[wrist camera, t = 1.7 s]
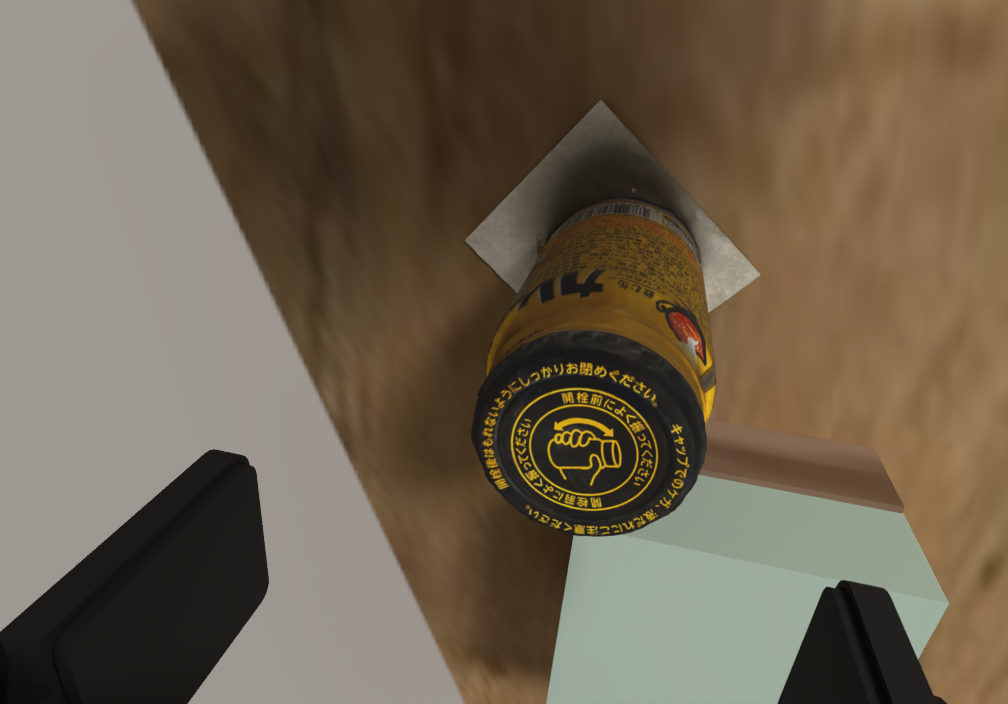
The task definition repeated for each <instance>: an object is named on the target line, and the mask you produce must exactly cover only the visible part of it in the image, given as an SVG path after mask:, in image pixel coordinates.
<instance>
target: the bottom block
mask: <svg viewBox="0 0 1008 704" xmlns="http://www.w3.org/2000/svg"><path fill="white" fill-rule="evenodd" d="M705 428H706V435H707V451H706V454H705V461H704V464H703V466H702V468H701V470H700V473H699V475H703V476H708V477H713V478H719V479H724V480H729V481H734V482H739V483H745V484H750V485H755V486H760V487H766V488H771V489H776V490H781V491H787V492H792V493H797V494H802V495H808V496H813V497H818V498H823V499H828V500H834V501H839V502H844V503H849V504H854V505H860V506H865V507H870V508H875V509H880V510H886V511H891V512H896V513H901V514H902V512H903V509H904V505H903V503H902V501H901V499H900V498H899V496H898V494H897V492H896V490H895V488H894V486H893V484H892V482H891V480H890V478H889V476H888V474H887V472H886V470H885V468H884V466H883V464H882V462H881V461H880V459H879V457H878V455H877V453H876V451H875V449H874V448H873V447H867V446H861V445H855V444H850V443H844V442H838V441H832V440H827V439H821V438H815V437H809V436H804V435H798V434H792V433H786V432H781V431H775V430H769V429H763V428H758V427H752V426H746V425H740V424H735V423H729V422H723V421H717V420H712V419H708V421H707V423H706V426H705Z"/></svg>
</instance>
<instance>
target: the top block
mask: <svg viewBox="0 0 1008 704" xmlns="http://www.w3.org/2000/svg"><path fill="white" fill-rule="evenodd" d="M841 580H847V581H852V582H857V583H862V584H867V585H871V586H876V587H881V588H884V589H885V590H887V591H888V593H889V595H890V596H891V598H892V601H893V603H894V605H895V608H896V610H897V612H898V615H899V617H900V619H901V621H902V624H903V626H904V628H905V631H906V633H907V635H908V638H909V640H910V642H911V645H912V647H913V649H914V652H915V654H916V656H917V659H919V657H920V655H921V653H922V651H923V650H924V648H925V646H926V644H927V642H928V641H929V639H930V637H931V635H932V633H933V632H934V630H935V628H936V626H937V624H938V623H939V621H940V619H941V617H942V615H943V614H944V612H945V610H946V608H947V607H948V605H949V603H948V601H947V599H946V597H945V595H944V593H943V591H942V589H941V587H940V585H939V583H938V581H937V579H936V577H935V575H934V573H933V571H932V569H931V567H930V565H929V563H928V561H927V559H926V557H925V555H924V553H923V551H922V549H921V547H920V545H919V544H918V542H917V540H916V538H915V536H914V534H913V532H912V530H911V528H910V526H909V524H908V522H907V520H906V518H905V516H904V514H901V513H896V512H891V511H886V510H880V509H875V508H870V507H865V506H860V505H854V504H849V503H844V502H839V501H834V500H828V499H823V498H818V497H813V496H808V495H802V494H797V493H792V492H787V491H781V490H776V489H771V488H766V487H760V486H755V485H750V484H745V483H739V482H734V481H729V480H724V479H719V478H713V477H708V476H703V475H698V478H697V481H696V483H695V485H694V487H693V488H692V489H691V491H690V492H689V493H688V494H687V495H686V497H685V499H684V500H683V502H682V504H680V505H679V506H678V507H677V508H676V510H675V511H673V512H671V513H670V514H669V515H667V516H665V517H663V518H661V519H659V520H657V521H655V522H653V523H651V524H649V525H647V526H646V527H644V528H642V529H639V530H636V531H634V532H631V533H627V534H622V535H615V536H603V537H593V536H575V535H574V536H573V542H572V548H571V554H570V560H569V566H568V573H567V579H566V585H565V591H564V597H563V603H562V610H561V616H560V622H559V628H558V634H557V641H556V647H555V653H554V659H553V665H552V671H551V678H550V684H549V690H548V696H547V702H546V704H778V700H779V698H780V695H781V693H782V691H783V688H784V686H785V683H786V681H787V678H788V676H789V673H790V671H791V668H792V666H793V663H794V661H795V658H796V656H797V653H798V651H799V648H800V646H801V643H802V641H803V639H804V636H805V634H806V631H807V629H808V626H809V624H810V621H811V619H812V616H813V614H814V611H815V609H816V606H817V604H818V601H819V599H820V596H821V594H822V592H823V590H824V589H825V588H826V587H832V588H835V587H836V586H837V584H838V583H839V582H840V581H841Z"/></svg>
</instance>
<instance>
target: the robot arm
mask: <svg viewBox="0 0 1008 704" xmlns="http://www.w3.org/2000/svg"><path fill="white" fill-rule="evenodd" d="M268 584H269V577H268V568H267V560H266V552H265V542H264V534H263V525H262V517H261V509H260V500H259V491H258V483H257V474H256V470H255V468H254V467H253V466H250V465H249V461H248V459H247V458H246V457H245V456H243V455H239V454H234V453H230V452H224V451H220V450H215V449H214V450H209V451H208V452H206V453H205V454H204V455H202V456H201V457H200V458H199V459H198V460H197V461H196V462H195V463H193V464H192V465H191V466H190V467H189V468H188V469H186V470H185V471H184V472H183V473H182V474H181V475H179V476H178V477H177V478H176V479H175V480H174V481H173V482H171V483H170V484H169V485H168V486H167V487H166V488H165V489H163V490H162V491H161V492H160V493H159V494H158V495H157V496H155V497H154V498H153V499H152V500H151V501H150V502H149V503H147V504H146V505H145V506H144V507H143V508H142V509H141V510H140V511H138V512H137V513H136V514H135V515H134V516H132V517H131V518H130V519H129V520H128V521H127V522H126V523H124V524H123V525H122V526H121V527H120V528H119V529H118V530H116V531H115V532H114V533H113V534H112V535H111V536H110V537H108V538H107V539H106V540H105V541H104V542H103V543H102V544H101V545H99V546H98V547H97V548H96V549H95V550H94V551H92V552H91V553H90V554H89V555H88V556H87V557H86V558H85V559H83V560H82V561H81V562H80V563H79V564H77V565H76V566H75V567H74V568H73V569H72V570H71V571H70V572H68V573H67V574H66V575H65V576H64V577H63V578H61V579H60V580H59V581H58V582H57V583H56V584H54V585H53V586H52V587H51V588H50V589H49V590H48V591H47V592H46V593H44V594H43V595H42V596H41V597H40V598H38V599H37V600H36V601H35V602H34V603H33V604H32V605H30V606H29V607H28V608H27V609H26V610H25V611H24V612H22V613H21V614H20V615H19V616H18V617H17V618H16V619H14V620H13V621H12V622H11V623H10V624H9V625H8V626H6V627H5V628H4V629H3V630H2V631H1V632H0V704H188V702H189V701H190V700H191V698H192V697H193V695H194V694H195V693H196V691H197V690H198V689H199V687H200V686H201V684H202V683H203V682H204V680H205V679H206V678H207V676H208V675H209V673H210V672H211V671H212V669H213V668H214V667H215V665H216V664H217V662H218V661H219V660H220V658H221V657H222V656H223V654H224V653H225V652H226V650H227V649H228V647H229V646H230V645H231V643H232V642H233V640H234V639H235V638H236V636H237V635H238V634H239V632H240V631H241V630H242V628H243V627H244V625H245V624H246V622H247V621H248V620H249V619H250V617H251V616H252V614H253V613H254V612H255V610H256V609H257V608H258V606H259V605H260V604H261V602H262V600H263V599H264V597H265V595H266V592H267V588H268ZM778 704H947V703H946V702H945V701H944V700H943V699H942V698H940V697H937V696H934V695H933V693H932V691H931V689H930V686H929V684H928V682H927V679H926V677H925V675H924V672H923V670H922V668H921V665H920V663H919V661H918V659H917V656H916V654H915V652H914V649H913V647H912V645H911V642H910V640H909V638H908V635H907V633H906V631H905V628H904V626H903V624H902V621H901V619H900V617H899V615H898V612H897V610H896V608H895V605H894V603H893V601H892V598H891V596H890V595H889V593H888V591H887V590H885V589H884V588H881V587H876V586H871V585H867V584H862V583H857V582H852V581H847V580H841V581H840V582H839V583H838V584H837V586H836V587H835V588H832V587H826V588H825V589H824V590H823V592H822V594H821V596H820V599H819V601H818V604H817V606H816V609H815V611H814V614H813V616H812V619H811V621H810V624H809V626H808V629H807V631H806V634H805V636H804V639H803V641H802V643H801V646H800V648H799V651H798V653H797V656H796V658H795V661H794V663H793V666H792V668H791V671H790V673H789V676H788V678H787V681H786V683H785V686H784V688H783V691H782V693H781V695H780V698H779V700H778Z"/></svg>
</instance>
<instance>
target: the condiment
mask: <svg viewBox="0 0 1008 704" xmlns="http://www.w3.org/2000/svg"><path fill="white" fill-rule="evenodd" d="M632 188H635V189H637V190H636V191H635V192H634V193H633V192H632V191H631V190H632ZM538 233H539V234H540V235H541V239H542V241H541V244H537V240H536V235H537V234H538ZM465 241H466V243H467V244H468V245H469V246H470V247H472V248H473V249H474V251H475V252H476V253H477V254H478V255H479V256H480V257H481V258H482V259H483V260H484V261H485V262H486V263H488V264H489V265H490V266H491V267H492V268H493V269H494V270H495V272H496V273H497V274H498V275H499V276H500V277H501V278H502V279H503V280H504V281H506V282H507V283H508V284H509V285H510V286H511V287H512V288H513V289H514V291H515V292H516V293H517V294H516V296H515V297H514V299H513V301H512V302H511V305H510V307H509V309H508V310H507V312H506V314H505V316H504V317H503V319H502V320H501V323H500V325H499V326H498V328H497V330H496V333H495V335H494V338H493V340H492V342H491V344H490V348H489V353H488V362H487V366H486V370H487V373H486V376H487V378H486V380H485V382H484V384H483V385H482V386H481V388H480V390H479V393H478V397H479V398H478V400H477V403H476V408H475V413H474V422H473V425H472V432H471V436H472V441H473V443H474V446H475V448H476V451H477V453H478V456H479V459H480V462H481V464H482V466H483V468H484V471H485V475H486V477H487V479H488V480H489V482H490V483H491V484H492V485H493V486H494V487H495V489H496V490H497V491H498V492H499V493H500V494H501V495H502V496H503V497H504V498H505V499H506V500H507V501H508V503H510V504H511V505H513V506H514V507H515V508H517V509H518V510H519V511H520V512H521V513H523V514H525V515H526V516H528V517H529V518H530V519H531V520H533V521H535V522H538V523H541V524H544V525H547V526H549V527H552V528H555V529H557V530H559V531H561V532H564V533H566V534H570V535H575V536H593V537H603V536H615V535H622V534H627V533H631V532H634V531H636V530H639V529H642V528H644V527H646V526H647V525H649V524H651V523H653V522H655V521H657V520H659V519H661V518H663V517H665V516H667V515H669V514H670V513H671V512H673V511H675V510H676V508H677V507H678V506H679V505H680V504H682V502H683V500H684V499H685V497H686V495H687V494H688V493H689V492H690V491H691V489H692V488H693V487H694V485H695V483H696V481H697V478H698V475H699V473H700V470H701V468H702V466H703V464H704V461H705V454H706V451H707V435H706V428H705V426H706V423H707V421H708V418H709V416H710V413H711V411H712V409H713V406H714V400H715V396H716V371H715V361H714V353H713V345H712V337H711V330H710V321H709V315H708V313H709V312H710V311H711V310H713V309H715V308H716V307H717V306H719V305H720V304H722V303H723V302H724V301H726V300H728V299H729V298H730V297H731V296H733V295H734V294H736V293H737V292H738V291H740V290H741V289H742V288H744V287H745V286H746V285H748V284H749V283H750V282H752V281H753V280H754V279H756V278H757V277H758V276H759V275H760V273H759V272H758V271H757V270H756V269H755V268H754V267H753V266H752V265H751V264H750V262H749V261H748V260H747V259H746V258H745V257H744V256H743V255H742V254H741V252H740V251H739V250H738V249H737V248H736V247H735V246H734V245H733V244H732V242H731V241H730V240H729V239H728V238H727V237H726V236H725V235H724V234H723V233H722V232H721V231H720V230H719V228H718V227H717V226H716V225H715V224H714V223H713V221H712V220H711V219H710V218H709V217H708V216H707V215H706V214H705V212H704V211H703V210H702V209H701V208H700V207H699V206H698V205H697V204H696V203H695V202H694V201H693V199H692V198H691V197H690V196H689V195H688V194H687V193H686V192H685V191H684V190H683V189H682V187H681V186H680V185H679V184H678V183H677V182H676V181H675V180H674V179H673V178H672V177H671V176H670V175H669V174H668V173H667V172H666V171H665V170H664V169H663V167H662V166H661V165H660V164H659V163H658V161H657V160H656V159H655V158H654V157H653V156H652V155H651V154H650V153H649V152H648V150H647V149H646V148H645V147H644V146H643V145H642V144H641V142H640V141H639V140H638V139H637V138H636V137H635V136H634V135H633V134H632V133H631V132H630V131H629V130H628V129H627V128H626V127H625V126H624V125H623V124H622V122H621V121H620V120H619V119H618V118H617V117H616V116H615V115H614V113H613V112H612V111H611V110H610V109H609V108H608V107H607V106H606V105H605V104H604V102H603V101H602V100H600V101H598V103H597V104H596V105H595V106H594V107H593V108H592V109H591V110H590V111H589V112H588V113H587V114H586V115H585V116H584V117H583V118H582V119H581V120H580V121H579V122H578V123H577V124H576V125H575V126H574V127H573V128H572V130H571V131H570V132H569V133H568V134H567V135H566V136H565V137H564V138H563V139H562V140H561V141H560V142H559V143H558V144H557V145H556V146H555V147H554V148H553V149H552V150H551V151H550V152H549V153H548V154H547V155H546V156H545V158H544V159H543V160H542V161H541V162H540V163H539V164H538V165H537V166H536V167H535V168H534V169H533V170H532V171H531V172H530V173H529V174H528V175H527V176H526V177H525V178H524V179H523V180H522V181H521V182H520V183H519V185H518V186H517V187H515V188H514V190H513V191H512V192H511V193H510V194H509V195H508V196H507V197H506V198H505V199H504V200H503V201H502V202H501V203H500V204H499V205H498V206H497V207H496V208H495V209H494V210H493V211H492V212H491V213H490V215H489V216H488V217H487V218H486V219H485V220H484V221H483V222H482V223H481V224H480V225H479V226H478V227H477V228H476V229H475V230H474V231H473V232H472V233H471V234H470V235H469V236H468V237H467V238H466V239H465ZM539 245H541V246H542V247H543V250H542V251H541V253H540V255H539V253H538V246H539Z"/></svg>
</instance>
